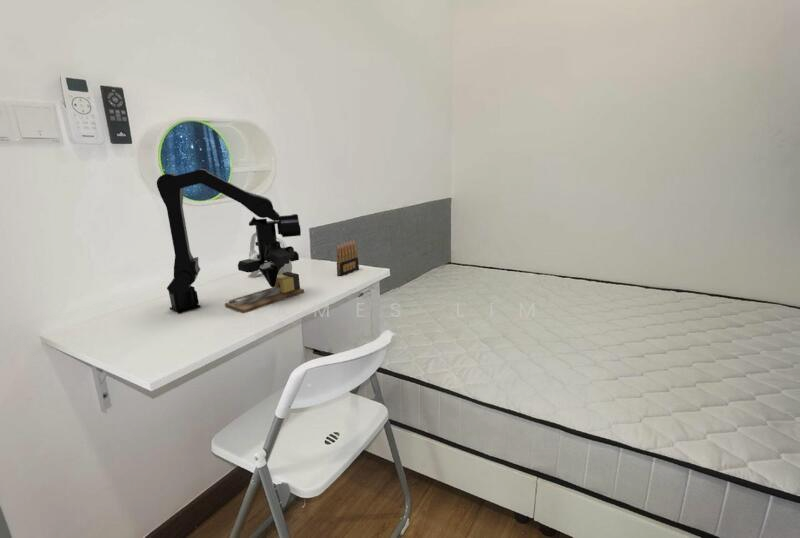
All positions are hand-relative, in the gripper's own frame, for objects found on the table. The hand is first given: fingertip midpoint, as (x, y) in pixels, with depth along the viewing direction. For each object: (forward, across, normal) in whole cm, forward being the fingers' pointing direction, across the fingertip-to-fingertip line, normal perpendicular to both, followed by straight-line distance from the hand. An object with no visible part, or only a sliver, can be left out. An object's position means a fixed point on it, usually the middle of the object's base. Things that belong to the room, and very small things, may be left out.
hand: (272, 286), depth 132 cm
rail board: (+3, -3, 0) cm, 4 cm away
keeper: (+2, +4, 0) cm, 5 cm away
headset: (+4, +12, +19) cm, 23 cm away
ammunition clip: (+4, +33, 0) cm, 33 cm away
